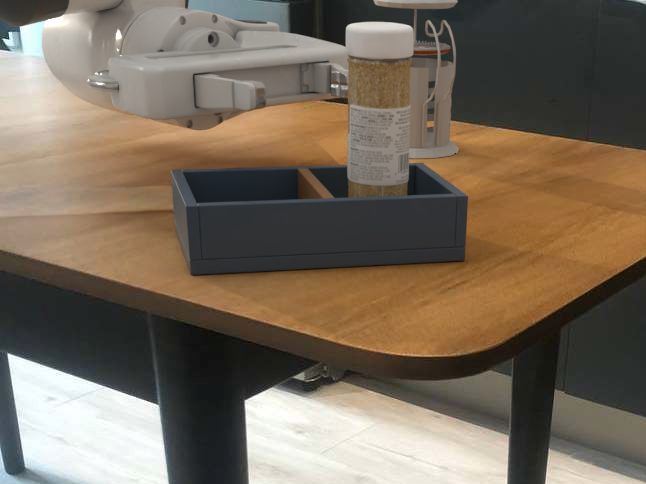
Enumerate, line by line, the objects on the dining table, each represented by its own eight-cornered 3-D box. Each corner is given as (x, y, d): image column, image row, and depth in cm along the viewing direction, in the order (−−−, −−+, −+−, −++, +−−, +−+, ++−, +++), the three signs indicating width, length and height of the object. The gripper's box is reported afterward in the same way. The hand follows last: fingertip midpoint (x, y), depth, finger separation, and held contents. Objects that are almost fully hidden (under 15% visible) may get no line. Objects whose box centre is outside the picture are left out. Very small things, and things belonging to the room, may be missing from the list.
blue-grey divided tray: (190, 275, 71) (185, 206, 69) (175, 232, 80) (170, 169, 78) (465, 260, 76) (468, 195, 74) (420, 221, 85) (422, 162, 83)
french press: (431, 137, 116) (440, -135, 104) (486, 158, 108) (504, -136, 95) (347, 142, 112) (347, -140, 100) (398, 165, 103) (405, -142, 91)
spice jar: (369, 215, 82) (371, 19, 75) (420, 225, 80) (427, 24, 73) (333, 227, 78) (331, 23, 72) (385, 238, 76) (389, 28, 69)
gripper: (69, 33, 78) (189, 53, 70) (282, 20, 91) (402, 36, 84) (80, 125, 81) (196, 154, 73) (284, 99, 95) (400, 122, 87)
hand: (308, 91), depth 78 cm, fingers open, 8 cm apart
